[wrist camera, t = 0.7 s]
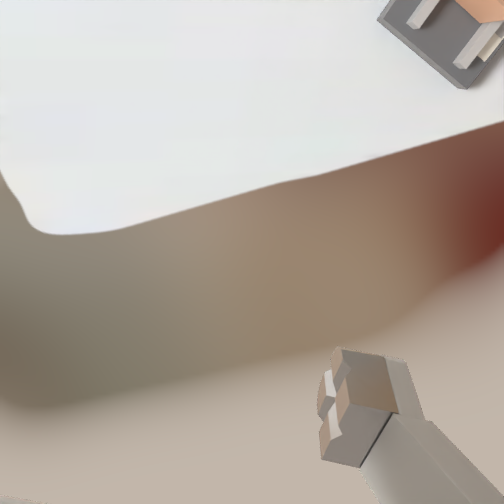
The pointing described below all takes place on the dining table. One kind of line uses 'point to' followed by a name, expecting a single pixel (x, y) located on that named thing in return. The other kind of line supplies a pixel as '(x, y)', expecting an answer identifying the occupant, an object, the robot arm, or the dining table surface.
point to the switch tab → (484, 9)
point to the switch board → (444, 36)
